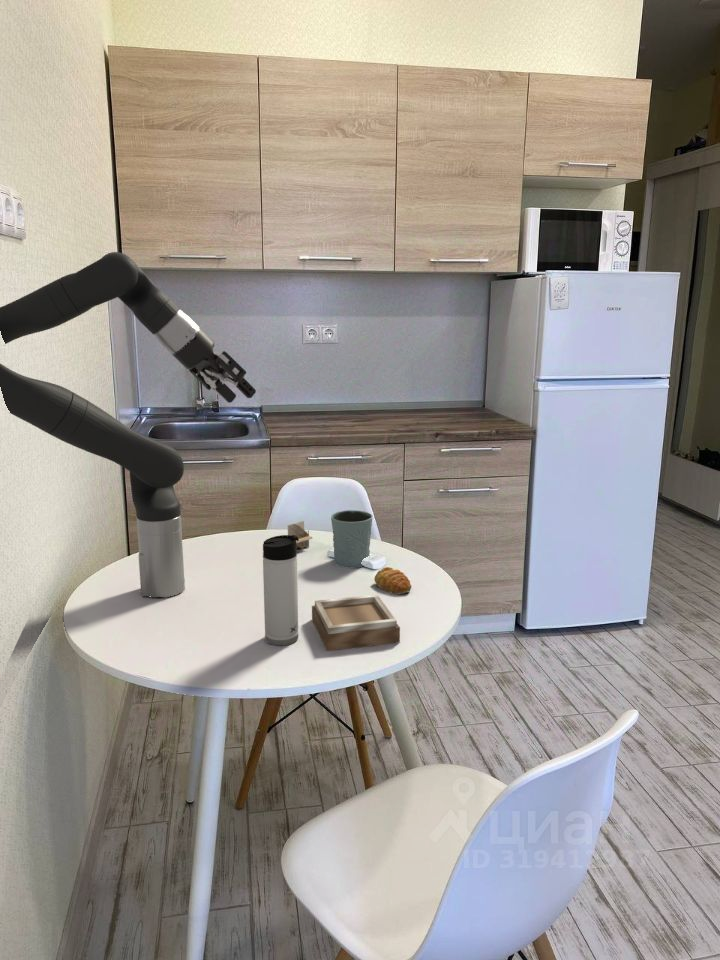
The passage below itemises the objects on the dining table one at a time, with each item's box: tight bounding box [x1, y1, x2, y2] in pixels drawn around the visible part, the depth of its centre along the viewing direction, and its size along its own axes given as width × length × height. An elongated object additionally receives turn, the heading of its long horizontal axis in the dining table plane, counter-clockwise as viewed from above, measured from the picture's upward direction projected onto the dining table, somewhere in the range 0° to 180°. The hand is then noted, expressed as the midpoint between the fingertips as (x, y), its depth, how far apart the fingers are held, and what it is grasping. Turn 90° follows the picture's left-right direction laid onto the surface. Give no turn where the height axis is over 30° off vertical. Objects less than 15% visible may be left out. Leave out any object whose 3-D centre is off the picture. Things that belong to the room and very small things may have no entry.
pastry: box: [373, 566, 413, 595], centre depth 159 cm, size 9×7×4 cm
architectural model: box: [287, 520, 313, 550], centre depth 184 cm, size 3×7×7 cm, turn 137°
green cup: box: [331, 509, 373, 569], centre depth 174 cm, size 10×10×12 cm
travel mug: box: [262, 534, 299, 646], centre depth 132 cm, size 6×7×20 cm
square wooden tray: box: [311, 594, 401, 652], centre depth 137 cm, size 14×14×4 cm
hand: (242, 397), depth 143 cm, fingers open, 8 cm apart
